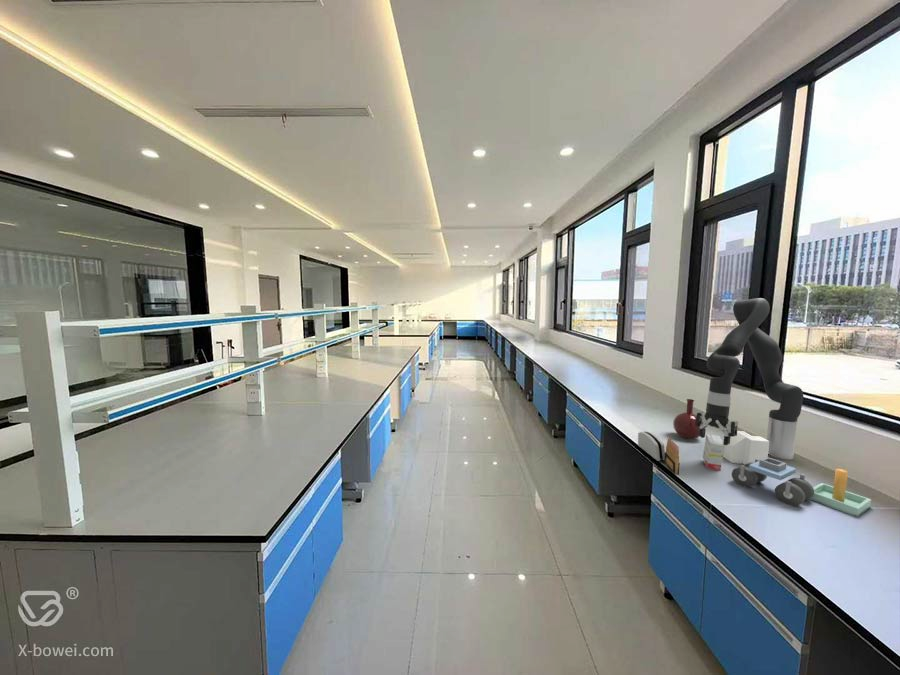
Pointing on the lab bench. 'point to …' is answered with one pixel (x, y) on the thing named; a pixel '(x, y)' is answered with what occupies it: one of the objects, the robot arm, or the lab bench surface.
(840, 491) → the pin
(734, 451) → the white faceted lump
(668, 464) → the ammunition clip
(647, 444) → the white rounded slab
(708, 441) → the ink box
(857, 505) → the tray
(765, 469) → the trolley
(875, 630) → the lab bench surface
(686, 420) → the round-bottom flask
